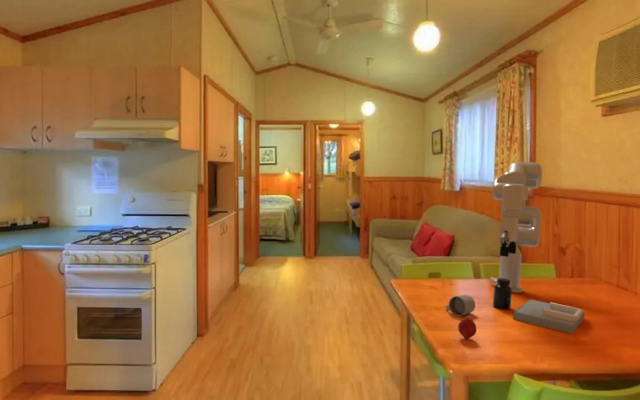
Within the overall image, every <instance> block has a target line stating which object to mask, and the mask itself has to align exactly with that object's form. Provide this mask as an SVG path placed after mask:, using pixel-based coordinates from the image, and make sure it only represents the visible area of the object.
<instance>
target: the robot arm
mask: <svg viewBox="0 0 640 400" xmlns="http://www.w3.org/2000/svg"><path fill="white" fill-rule="evenodd" d="M542 168H543V167H542V166H541V164H540V163H538V162H534V161H530V162H529V161H517V162H512V163H511V164H509V166H508V168H507V171H506V172H504V174H501V175H500V176H498V177H496V178H495V179H494V182H493V184H492V188H491V196H492V198H493V199H494V200H497V201H501V209H500V217H501V221H500V225H499V232H498V233H499V234H498V240H499V241H500V244H499V245H500V249H499V250H500V251H499V270H498V277H496V278H495V277H490V278H489V281H490V282H491V283H495V284H494V286H495V285H497V284H498V283H497V280H498V278H505V279H509V280H510V285H509V286H510V287H511V288H512V294H513V293H515V294H518V293H523V292H524V289H523V287H522V286H521V275H522V274H521V273H522V259H523V254H522V252H521V250H520V249H519V247H518V246H521V247H522V246H523V247H530V248H533V247H534V248H536V247H538V246H539V245H540V242H541V232H542V211H541V210H540V208H538V207H536V206H527V205H526V201H527V200H526V199H527V198H528V197H529V189H539V188H540V187H541V185H542V180H543V169H542Z"/></svg>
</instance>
